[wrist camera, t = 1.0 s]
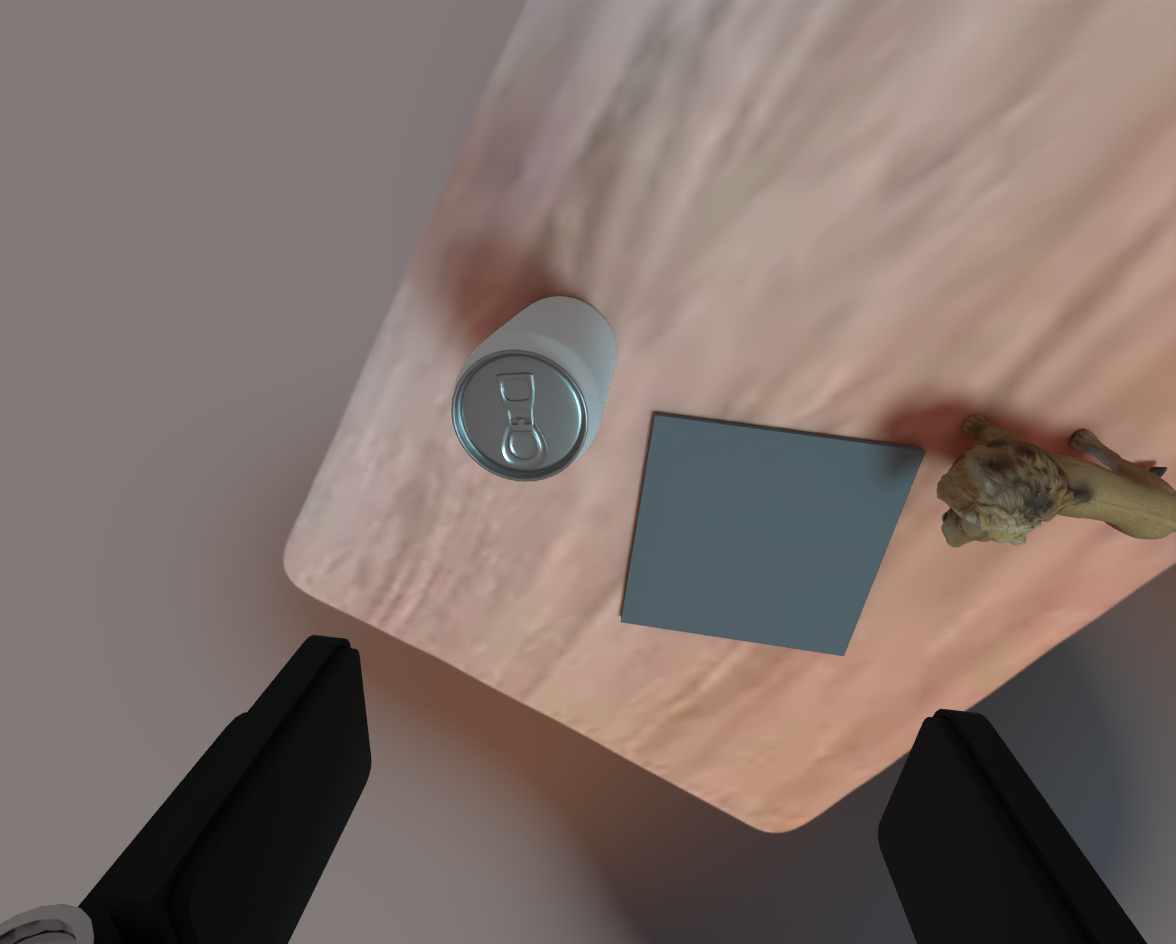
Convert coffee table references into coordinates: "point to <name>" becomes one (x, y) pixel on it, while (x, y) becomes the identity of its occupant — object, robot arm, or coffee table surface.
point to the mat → (762, 531)
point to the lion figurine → (1048, 489)
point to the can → (535, 390)
